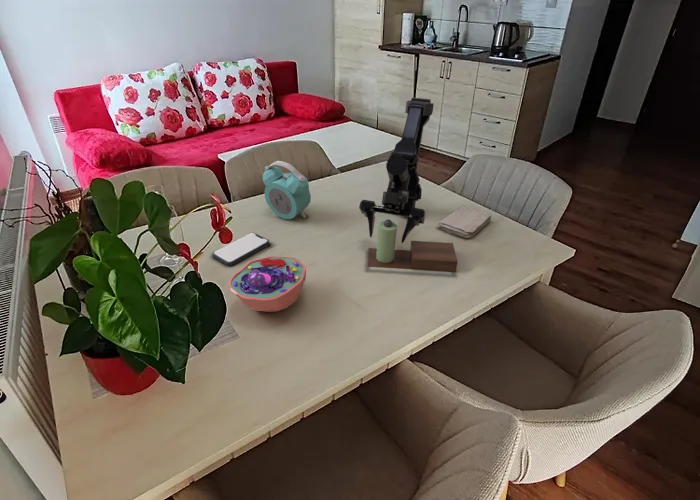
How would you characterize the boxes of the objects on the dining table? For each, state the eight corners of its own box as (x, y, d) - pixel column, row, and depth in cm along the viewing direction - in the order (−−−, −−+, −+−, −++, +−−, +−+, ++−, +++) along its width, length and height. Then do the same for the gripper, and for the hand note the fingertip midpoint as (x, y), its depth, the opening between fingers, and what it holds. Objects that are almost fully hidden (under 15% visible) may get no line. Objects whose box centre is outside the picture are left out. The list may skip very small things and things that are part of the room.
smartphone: (230, 268, 124) (271, 244, 134) (229, 263, 123) (270, 240, 133) (210, 257, 128) (252, 235, 139) (209, 252, 127) (251, 231, 138)
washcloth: (436, 229, 145) (437, 221, 144) (459, 210, 158) (461, 203, 156) (469, 241, 140) (470, 233, 138) (490, 220, 152) (492, 213, 150)
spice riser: (368, 252, 133) (369, 238, 130) (450, 256, 132) (453, 242, 129) (367, 270, 124) (368, 256, 122) (455, 276, 123) (457, 261, 120)
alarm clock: (316, 216, 151) (315, 162, 140) (299, 227, 144) (297, 171, 133) (278, 203, 158) (274, 151, 147) (260, 213, 151) (255, 159, 141)
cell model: (322, 299, 113) (321, 263, 107) (258, 337, 101) (254, 299, 95) (282, 271, 123) (279, 237, 117) (219, 303, 111) (213, 266, 104)
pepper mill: (385, 251, 130) (388, 213, 124) (397, 258, 127) (401, 220, 120) (372, 257, 128) (375, 219, 121) (385, 265, 124) (388, 226, 117)
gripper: (362, 173, 121) (349, 226, 118) (428, 183, 117) (417, 238, 114) (368, 188, 132) (356, 237, 128) (429, 197, 127) (419, 248, 124)
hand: (386, 239), depth 123 cm, fingers open, 9 cm apart
